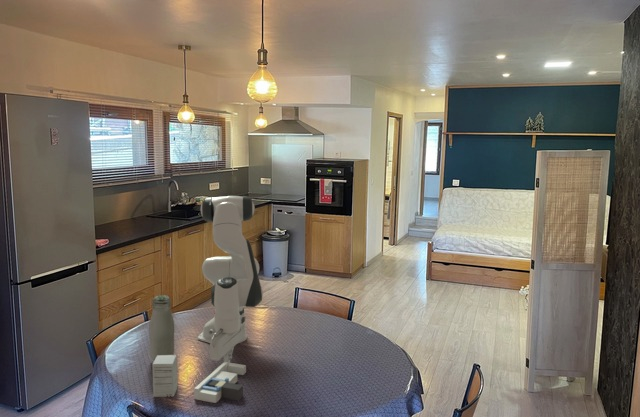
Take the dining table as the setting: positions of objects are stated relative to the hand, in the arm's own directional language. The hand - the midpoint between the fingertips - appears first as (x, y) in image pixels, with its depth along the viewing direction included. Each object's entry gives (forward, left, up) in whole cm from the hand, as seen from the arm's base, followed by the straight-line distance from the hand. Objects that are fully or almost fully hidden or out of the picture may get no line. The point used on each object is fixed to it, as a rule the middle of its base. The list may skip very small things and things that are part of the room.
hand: (227, 360), depth 172 cm
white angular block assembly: (-5, +5, -13) cm, 15 cm away
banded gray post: (-1, -1, -13) cm, 13 cm away
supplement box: (-22, -6, -13) cm, 27 cm away
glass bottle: (-38, +15, -13) cm, 43 cm away
